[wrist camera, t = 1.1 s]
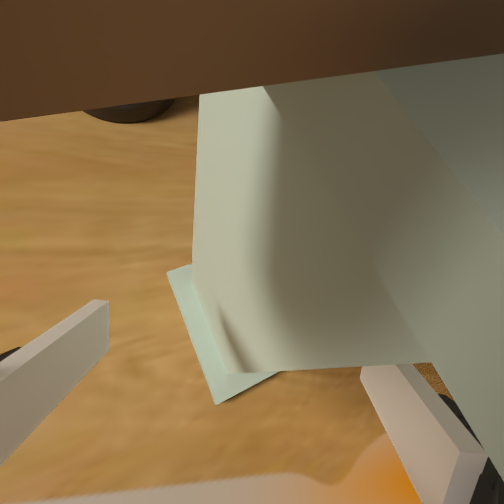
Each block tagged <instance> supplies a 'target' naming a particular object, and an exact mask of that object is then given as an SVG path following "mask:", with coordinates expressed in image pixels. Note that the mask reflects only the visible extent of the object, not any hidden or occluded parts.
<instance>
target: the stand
mask: <svg viewBox="0 0 504 504" xmlns="http://www.w3.org/2000/svg"><path fill="white" fill-rule="evenodd" d="M167 277H168V280H169V282H170V285H171V288H172V290H173V293H174V296H175V298H176V301H177V304H178V306H179V309H180V312H181V314H182V317H183V320H184V322H185V325H186V328H187V330H188V333H189V336H190V338H191V341H192V344H193V346H194V349H195V352H196V355H197V357H198V360H199V363H200V365H201V368H202V371H203V373H204V376H205V379H206V381H207V384H208V387H209V389H210V392H211V395H212V397H213V400H214V403H215V404H216V405H218V404H219V403H221V402H223V401H225V400H227V399H229V398H231V397H232V396H234V395H236V394H238V393H240V392H242V391H244V390H246V389H247V388H249V387H251V386H253V385H255V384H257V383H259V382H260V381H262V380H264V379H266V378H268V377H270V376H272V375H273V374H275V373H277V372H279V371H290V370H308V369H325V368H343V367H360V366H378V365H395V364H413V363H430V362H431V363H432V365H433V366H434V368H435V369H436V371H437V373H438V374H439V376H440V378H441V379H442V381H443V383H444V384H445V386H446V388H447V389H448V391H449V392H450V394H451V396H452V397H453V399H454V401H455V402H456V404H457V406H458V407H459V409H460V411H461V412H462V414H463V415H464V417H465V419H466V420H467V422H468V424H469V425H470V427H471V429H472V430H473V432H474V433H475V435H476V437H477V438H478V440H479V442H480V443H481V445H482V447H483V448H484V450H485V452H486V453H487V455H488V456H489V458H490V460H491V461H492V463H493V465H494V466H495V468H496V470H497V471H498V473H499V475H500V476H501V478H502V479H503V481H504V54H496V55H489V56H482V57H474V58H467V59H459V60H452V61H445V62H437V63H430V64H422V65H415V66H408V67H400V68H393V69H385V70H378V71H371V72H363V73H356V74H349V75H341V76H334V77H326V78H319V79H312V80H304V81H297V82H289V83H282V84H275V85H267V86H260V87H252V88H245V89H238V90H230V91H223V92H215V93H208V94H201V95H200V96H199V118H198V140H197V162H196V184H195V206H194V228H193V250H192V264H189V265H186V266H183V267H180V268H177V269H174V270H171V271H168V272H167Z"/></svg>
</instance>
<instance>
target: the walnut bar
mask: <svg viewBox="0 0 504 504" xmlns="http://www.w3.org/2000/svg"><path fill="white" fill-rule="evenodd" d="M496 54H504V0H0V122H1V121H8V120H16V119H23V118H30V117H38V116H45V115H53V114H60V113H67V112H75V111H82V110H90V109H97V108H104V107H112V106H119V105H127V104H134V103H141V102H149V101H156V100H164V99H171V98H178V97H186V96H193V95H201V94H208V93H215V92H223V91H230V90H238V89H245V88H252V87H260V86H267V85H275V84H282V83H289V82H297V81H304V80H312V79H319V78H326V77H334V76H341V75H349V74H356V73H363V72H371V71H378V70H385V69H393V68H400V67H408V66H415V65H422V64H430V63H437V62H445V61H452V60H459V59H467V58H474V57H482V56H489V55H496Z"/></svg>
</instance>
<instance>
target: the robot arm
mask: <svg viewBox="0 0 504 504" xmlns="http://www.w3.org/2000/svg"><path fill="white" fill-rule="evenodd" d="M174 99H175V98H171V99H164V100H156V101H149V102H141V103H134V104H127V105H119V106H112V107H104V108H97V109H90V110H82V111H84V112H86V113H88V114H90V115H92V116H94V117H97V118H100V119H103V120H107V121H112V122H122V123H129V122H139V121H144V120H148V119H151V118H153V117H156V116H158V115H159V114H161V113H163V112H164V111H165V110H167V109H168V108H169V106H170V105H171V104H172V103H173V101H174ZM108 351H109V301H104V300H95V299H94V300H92V301H91V302H89V303H88V304H86V305H85V306H83V307H82V308H80V309H79V310H77V311H76V312H74V313H73V314H71V315H70V316H68V317H67V318H65V319H64V320H62V321H61V322H59V323H58V324H56V325H55V326H53V327H52V328H50V329H49V330H47V331H46V332H44V333H43V334H41V335H40V336H38V337H37V338H35V339H34V340H32V341H31V342H29V343H28V344H26V345H25V346H23V347H17V348H15V349H12V350H10V351H7V352H5V353H3V354H1V355H0V466H1V465H2V464H3V463H4V462H5V460H6V459H7V458H8V457H9V456H10V455H11V454H12V453H13V452H14V451H15V450H16V449H17V448H18V447H19V446H20V444H21V443H22V442H23V441H24V440H25V439H26V438H27V437H28V436H29V435H30V434H31V433H32V432H33V431H34V430H35V429H36V427H37V426H38V425H39V424H40V423H41V422H42V421H43V420H44V419H45V418H46V417H47V416H48V415H49V414H50V413H51V412H52V410H53V409H54V408H55V407H56V406H57V405H58V404H59V403H60V402H61V401H62V400H63V399H64V398H65V397H66V396H67V394H68V393H69V392H70V391H71V390H72V389H73V388H74V387H75V386H76V385H77V384H78V383H79V382H80V381H81V380H82V379H83V377H84V376H85V375H86V374H87V373H88V372H89V371H90V370H91V369H92V368H93V367H94V366H95V365H96V364H97V363H98V362H99V360H100V359H101V358H102V357H103V356H104V355H105V354H106V353H107V352H108ZM360 380H361V382H362V384H363V386H364V388H365V390H366V392H367V394H368V396H369V398H370V400H371V402H372V404H373V406H374V408H375V410H376V412H377V414H378V416H379V418H380V420H381V422H382V424H383V426H384V428H385V430H386V432H387V434H388V436H389V438H390V440H391V442H392V444H393V446H394V448H395V450H396V452H397V454H398V456H399V458H400V460H401V462H402V464H403V466H404V468H405V470H406V472H407V474H408V476H409V478H410V480H411V482H412V484H413V486H414V488H415V490H416V492H417V494H418V496H419V498H420V500H421V502H422V504H504V481H503V479H502V478H501V476H500V475H499V473H498V471H497V470H496V468H495V466H494V465H493V463H492V461H491V460H490V458H489V456H488V455H487V453H486V452H485V450H484V448H483V447H482V445H481V443H480V442H479V440H478V438H477V437H476V435H475V433H474V432H473V430H472V429H471V427H470V425H469V424H468V422H467V420H466V419H465V417H464V415H463V414H462V412H461V411H460V409H459V407H458V406H457V404H456V403H455V402H454V401H453V400H451V399H450V398H449V397H447V396H446V395H441V394H437V393H436V392H435V390H434V389H433V388H432V387H431V386H430V384H429V383H428V382H427V381H426V380H425V379H424V377H423V376H422V375H421V374H420V373H419V371H418V370H417V369H416V368H415V367H414V365H413V364H395V365H378V366H362V370H361V375H360Z"/></svg>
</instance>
